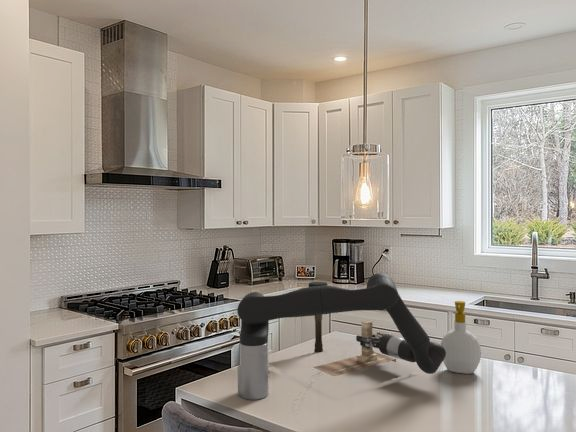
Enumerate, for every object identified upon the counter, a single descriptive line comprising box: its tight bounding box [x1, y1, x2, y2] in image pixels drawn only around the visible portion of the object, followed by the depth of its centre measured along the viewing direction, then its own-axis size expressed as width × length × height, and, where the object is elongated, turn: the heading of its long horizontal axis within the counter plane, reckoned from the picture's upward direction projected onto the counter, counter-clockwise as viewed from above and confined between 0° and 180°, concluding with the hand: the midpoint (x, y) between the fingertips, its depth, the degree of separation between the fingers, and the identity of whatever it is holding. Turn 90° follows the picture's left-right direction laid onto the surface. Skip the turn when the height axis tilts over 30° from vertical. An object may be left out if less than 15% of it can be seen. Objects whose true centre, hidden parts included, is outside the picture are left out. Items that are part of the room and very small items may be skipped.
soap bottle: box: [440, 300, 482, 375], centre depth 176 cm, size 14×9×26 cm, turn 66°
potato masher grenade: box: [308, 281, 328, 354], centre depth 200 cm, size 8×9×30 cm
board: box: [313, 351, 397, 377], centre depth 183 cm, size 32×12×2 cm, turn 125°
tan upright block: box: [356, 320, 377, 363], centre depth 187 cm, size 7×4×15 cm, turn 125°
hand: (362, 336), depth 189 cm, fingers open, 5 cm apart
